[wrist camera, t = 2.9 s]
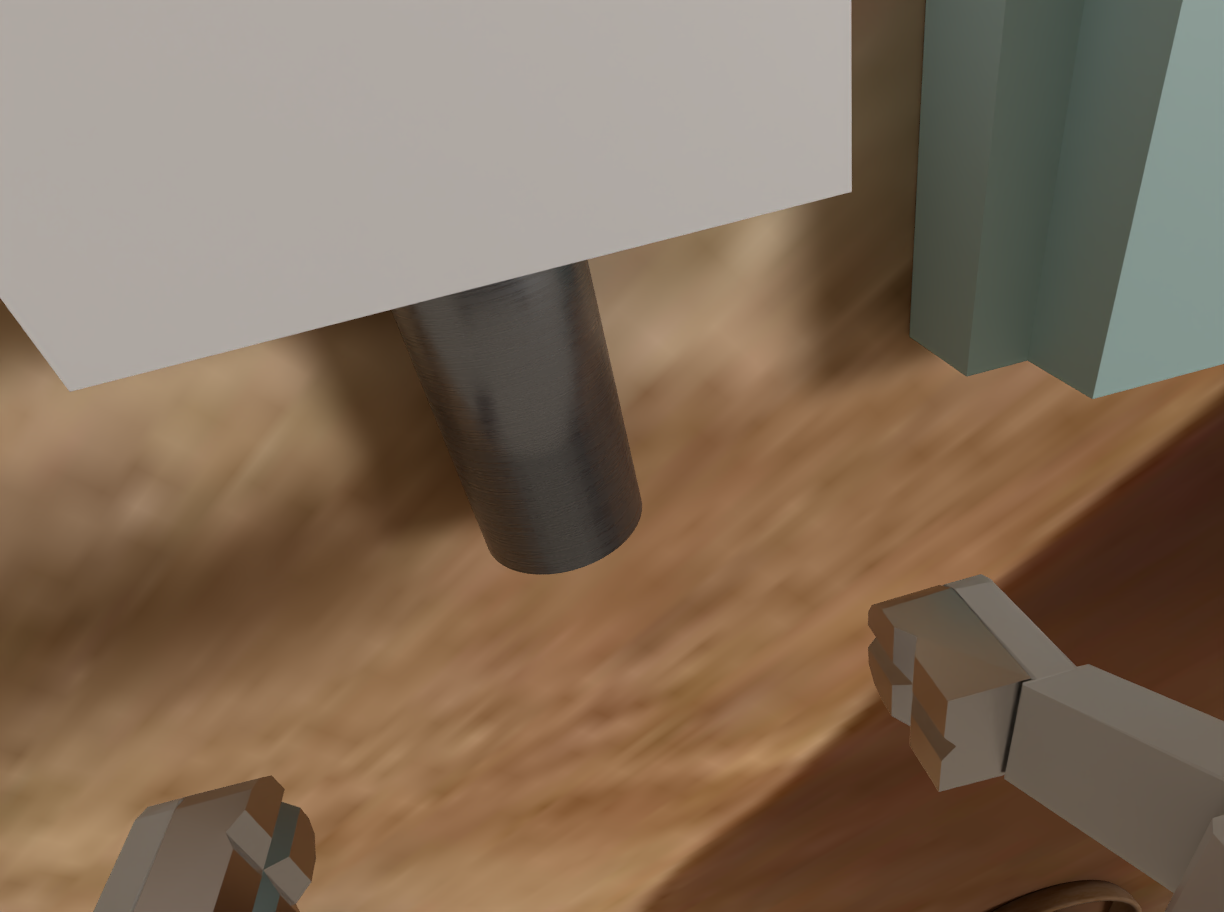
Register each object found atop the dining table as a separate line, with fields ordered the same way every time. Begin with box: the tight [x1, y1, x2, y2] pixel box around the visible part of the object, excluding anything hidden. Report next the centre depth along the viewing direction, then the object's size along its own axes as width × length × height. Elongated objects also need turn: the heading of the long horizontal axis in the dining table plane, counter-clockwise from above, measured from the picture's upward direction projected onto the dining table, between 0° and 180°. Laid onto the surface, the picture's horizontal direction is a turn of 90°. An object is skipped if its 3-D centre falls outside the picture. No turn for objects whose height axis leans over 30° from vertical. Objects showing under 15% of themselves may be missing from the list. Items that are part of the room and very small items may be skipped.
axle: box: [391, 260, 642, 574], centre depth 13 cm, size 14×4×4 cm, turn 12°
